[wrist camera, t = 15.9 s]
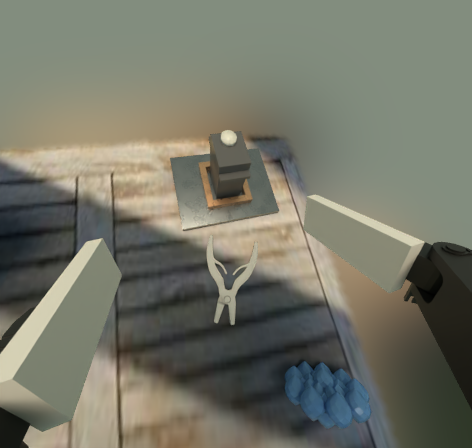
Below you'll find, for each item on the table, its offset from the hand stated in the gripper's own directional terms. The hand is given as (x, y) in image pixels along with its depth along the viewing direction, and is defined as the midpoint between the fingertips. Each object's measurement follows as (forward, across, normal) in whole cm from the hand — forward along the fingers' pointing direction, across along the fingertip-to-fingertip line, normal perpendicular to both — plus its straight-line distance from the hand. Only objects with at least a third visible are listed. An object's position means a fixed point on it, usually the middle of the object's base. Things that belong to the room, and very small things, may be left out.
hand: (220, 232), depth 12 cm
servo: (+26, +7, -5) cm, 28 cm away
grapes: (+1, +11, -32) cm, 34 cm away
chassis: (+27, +7, -5) cm, 28 cm away
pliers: (+15, +3, -19) cm, 24 cm away
